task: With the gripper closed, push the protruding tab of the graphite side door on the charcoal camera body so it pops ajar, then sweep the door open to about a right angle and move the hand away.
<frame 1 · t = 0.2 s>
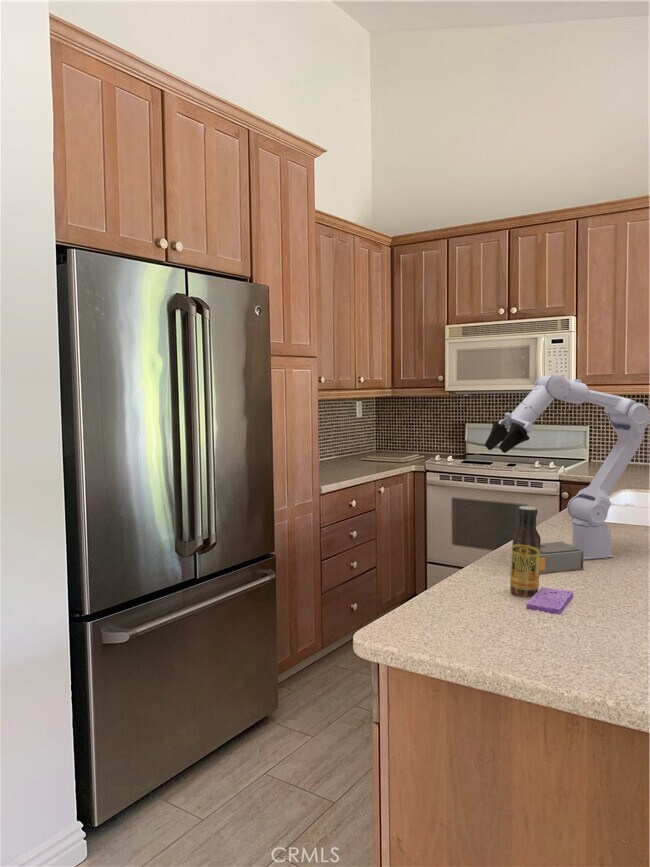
hand: (494, 449, 169), 31 cm above the counter, tool tilted 45°, fingers open, 7 cm apart
sauce bottle: (524, 594, 149), on the counter
sponges: (550, 606, 143), on the counter
side door: (559, 562, 165), point 2 cm above the counter, hinge at 0.0°
camera body: (553, 565, 170), on the counter
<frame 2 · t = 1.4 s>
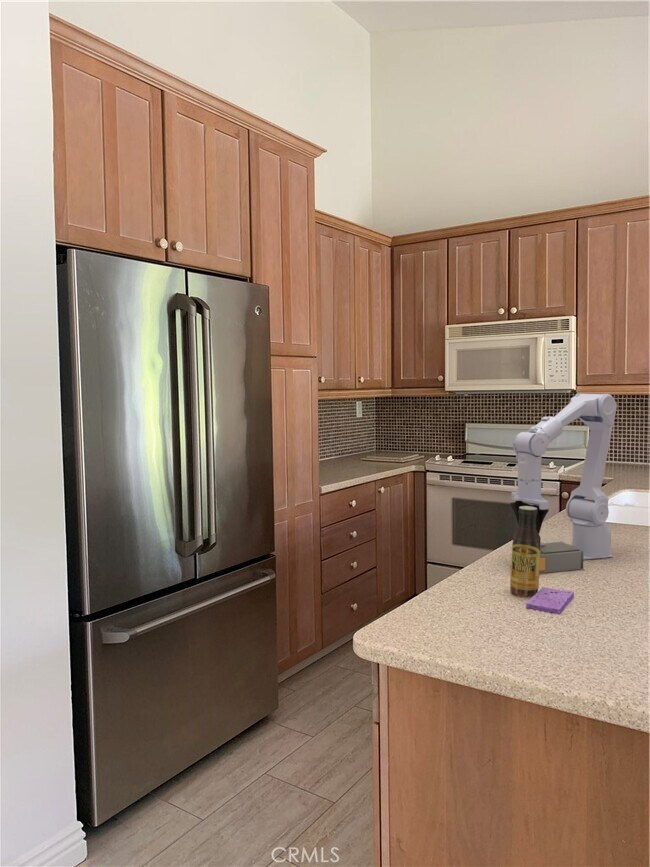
hand: (528, 532, 167), 9 cm above the counter, tool pointing down, fingers open, 5 cm apart
nothing on the counter moved.
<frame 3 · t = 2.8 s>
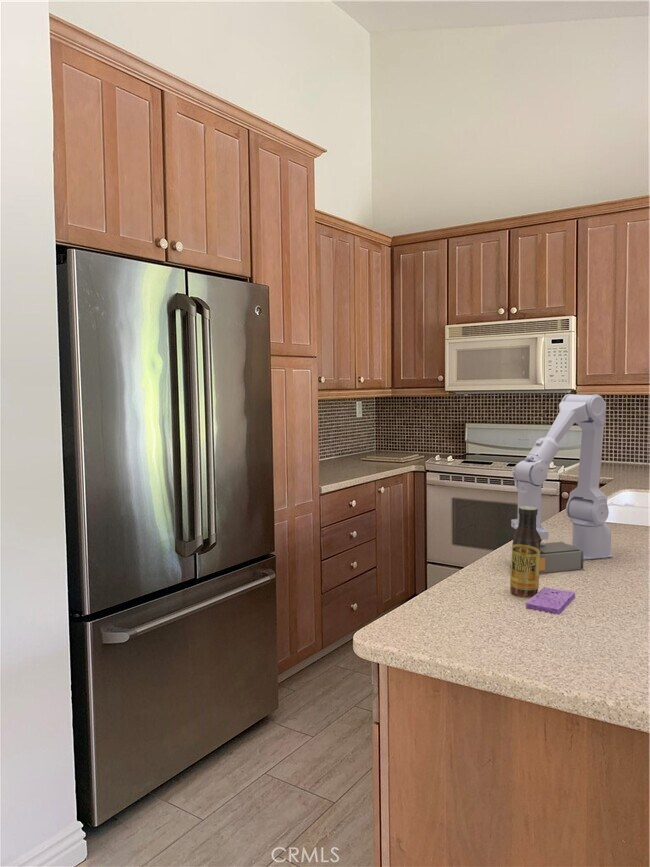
hand: (528, 560, 168), 2 cm above the counter, tool pointing down, fingers closed
nothing on the counter moved.
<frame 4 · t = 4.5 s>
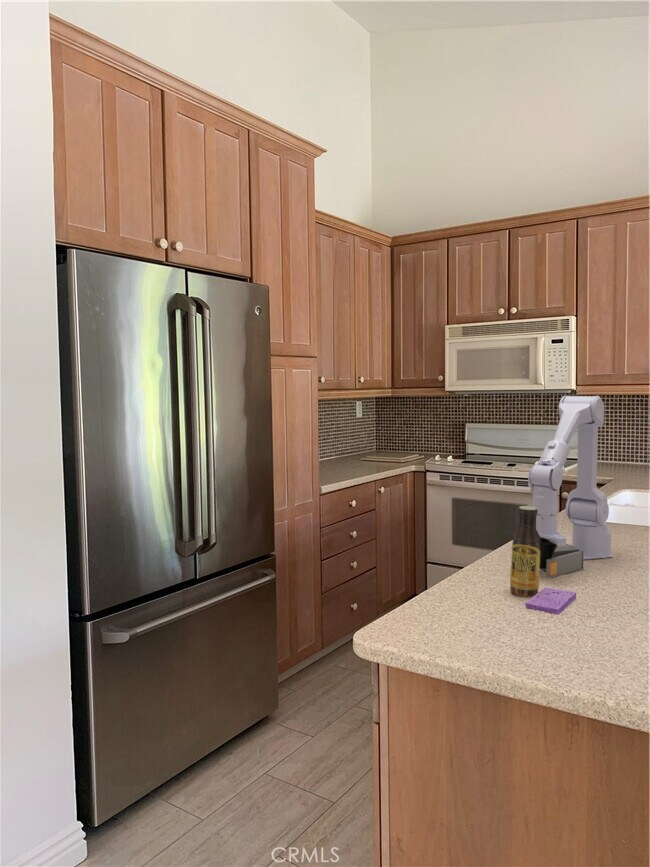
hand: (544, 568, 161), 2 cm above the counter, tool pointing down, fingers closed
side door: (566, 564, 163), point 3 cm above the counter, hinge at 19.5°, touching gripper
everything else where it was.
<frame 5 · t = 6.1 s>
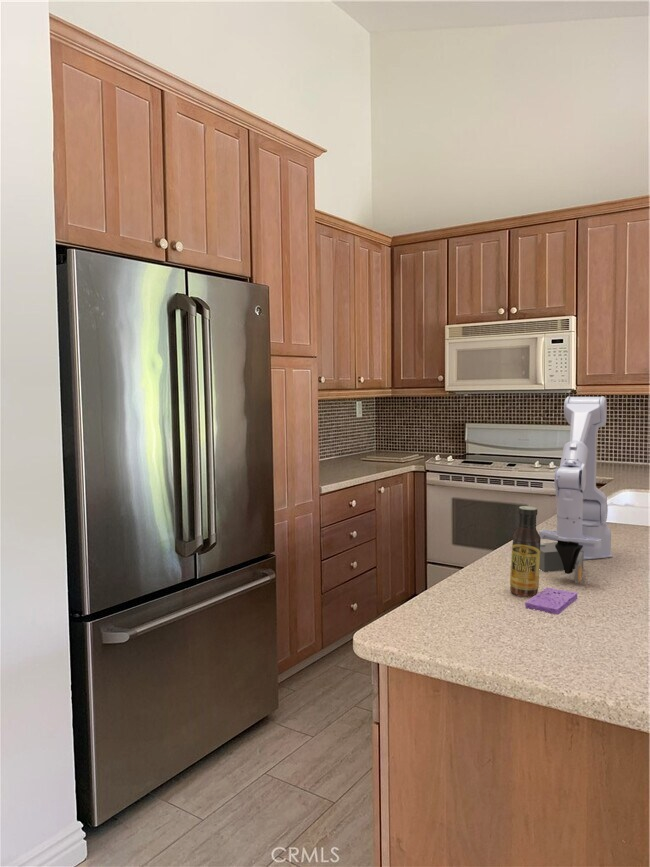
hand: (568, 572, 157), 2 cm above the counter, tool pointing down, fingers closed
side door: (580, 566, 161), point 2 cm above the counter, hinge at 50.9°, touching gripper
everything else where it was.
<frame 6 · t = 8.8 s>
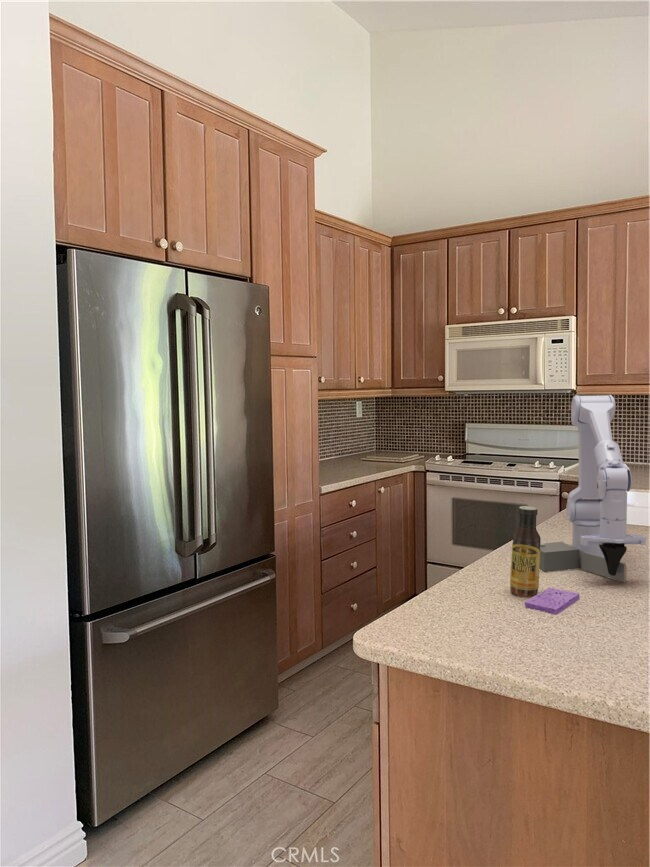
hand: (612, 574, 155), 2 cm above the counter, tool pointing down, fingers closed
side door: (602, 565, 161), point 2 cm above the counter, hinge at 103.1°, touching gripper
everything else where it was.
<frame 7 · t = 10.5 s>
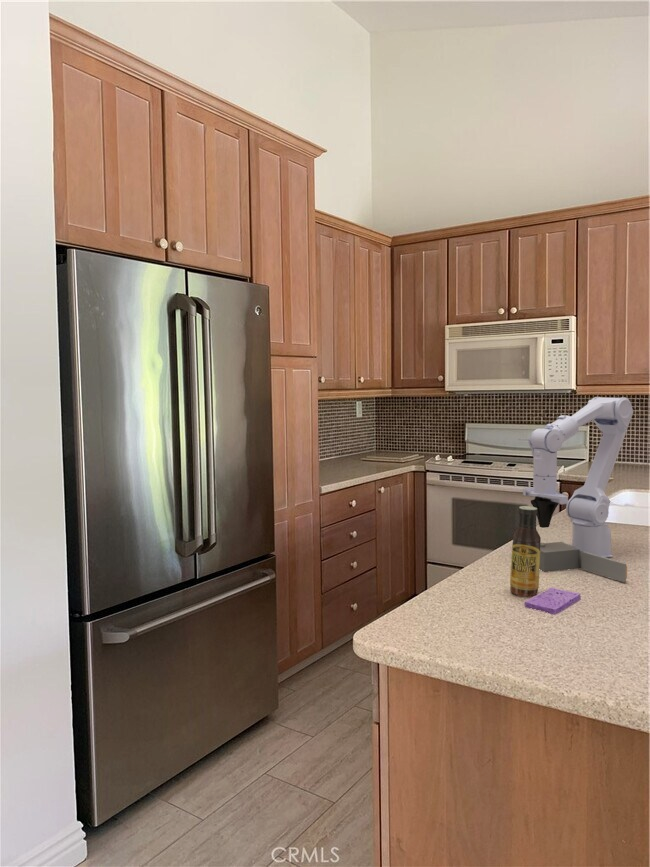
hand: (544, 526, 171), 10 cm above the counter, tool pointing down, fingers closed
side door: (602, 565, 161), point 2 cm above the counter, hinge at 103.3°
everything else where it was.
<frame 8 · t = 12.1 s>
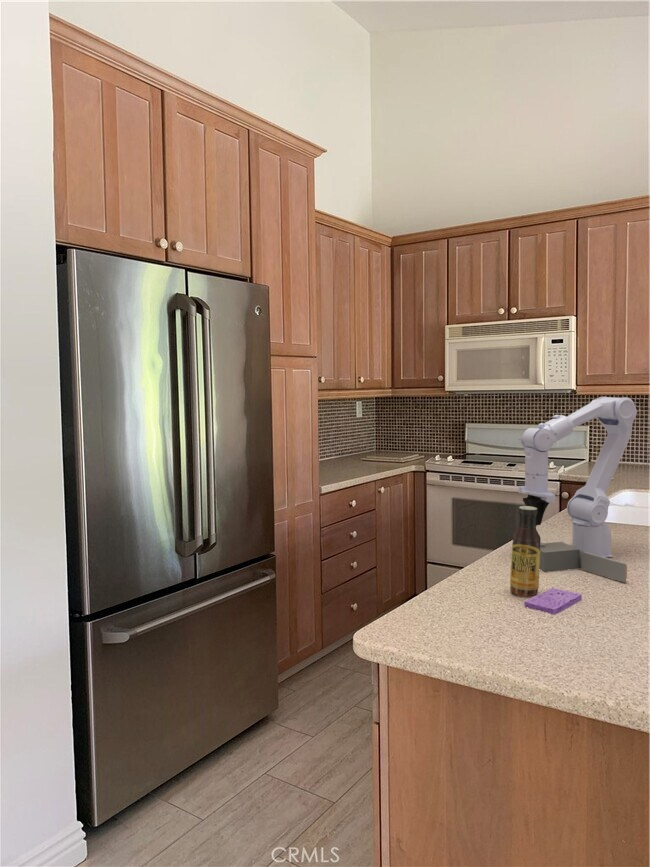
hand: (535, 524, 173), 10 cm above the counter, tool pointing down, fingers closed
at the end: side door at +103° (first picture: +0°) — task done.
